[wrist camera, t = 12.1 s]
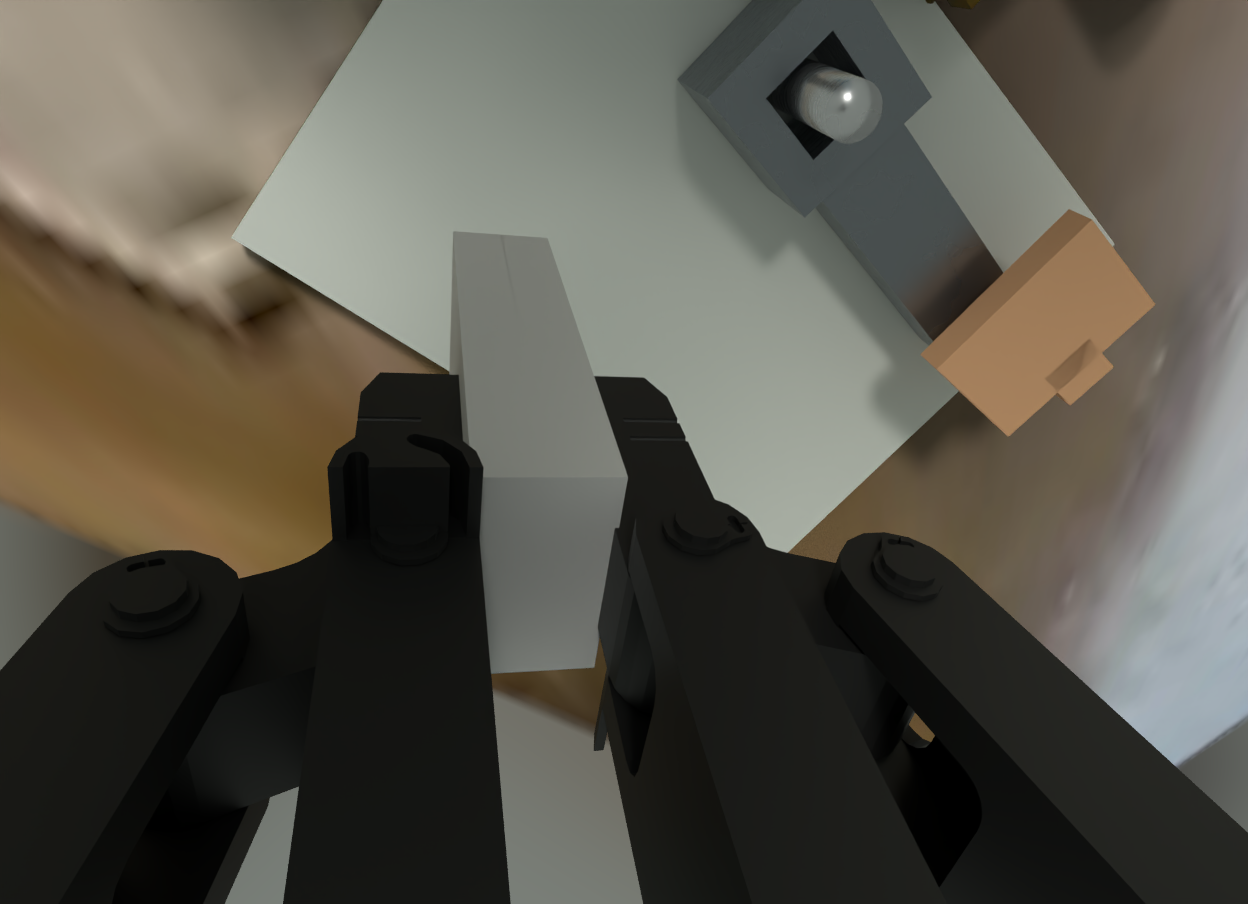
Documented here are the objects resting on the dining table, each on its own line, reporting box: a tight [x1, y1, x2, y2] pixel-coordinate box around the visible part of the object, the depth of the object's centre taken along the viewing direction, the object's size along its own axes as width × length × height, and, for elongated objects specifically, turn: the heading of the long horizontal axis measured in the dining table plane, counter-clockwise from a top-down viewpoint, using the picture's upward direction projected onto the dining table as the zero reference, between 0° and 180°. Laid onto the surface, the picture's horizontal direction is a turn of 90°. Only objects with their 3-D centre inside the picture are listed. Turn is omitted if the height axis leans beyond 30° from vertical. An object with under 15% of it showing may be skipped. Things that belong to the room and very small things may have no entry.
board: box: [231, 0, 1115, 553], centre depth 36 cm, size 24×32×1 cm
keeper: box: [920, 209, 1156, 437], centre depth 38 cm, size 8×7×7 cm
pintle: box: [766, 58, 883, 144], centre depth 30 cm, size 2×2×8 cm
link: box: [677, 0, 1003, 345], centre depth 33 cm, size 18×6×4 cm, turn 43°
